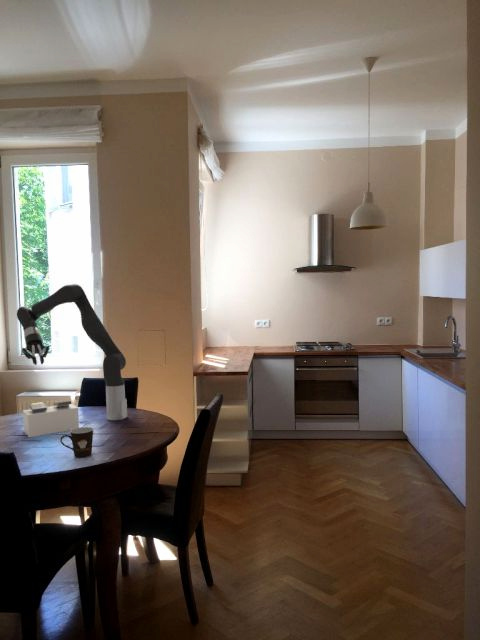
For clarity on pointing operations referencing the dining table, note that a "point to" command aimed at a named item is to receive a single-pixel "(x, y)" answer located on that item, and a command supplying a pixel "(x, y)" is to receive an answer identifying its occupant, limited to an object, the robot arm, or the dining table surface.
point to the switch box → (50, 420)
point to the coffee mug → (81, 441)
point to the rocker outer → (37, 407)
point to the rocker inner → (62, 403)
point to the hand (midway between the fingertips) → (39, 363)
